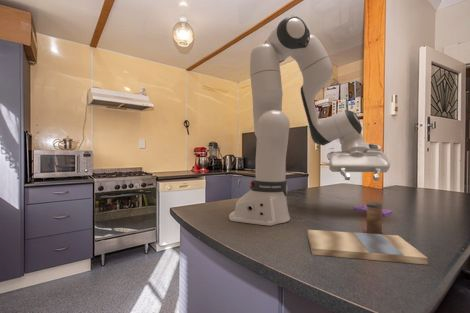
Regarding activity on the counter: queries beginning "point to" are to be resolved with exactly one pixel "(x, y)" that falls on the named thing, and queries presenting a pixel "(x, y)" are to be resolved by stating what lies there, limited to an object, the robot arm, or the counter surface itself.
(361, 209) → the sponges
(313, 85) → the robot arm
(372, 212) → the peg
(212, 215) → the counter surface
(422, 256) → the plywood board
